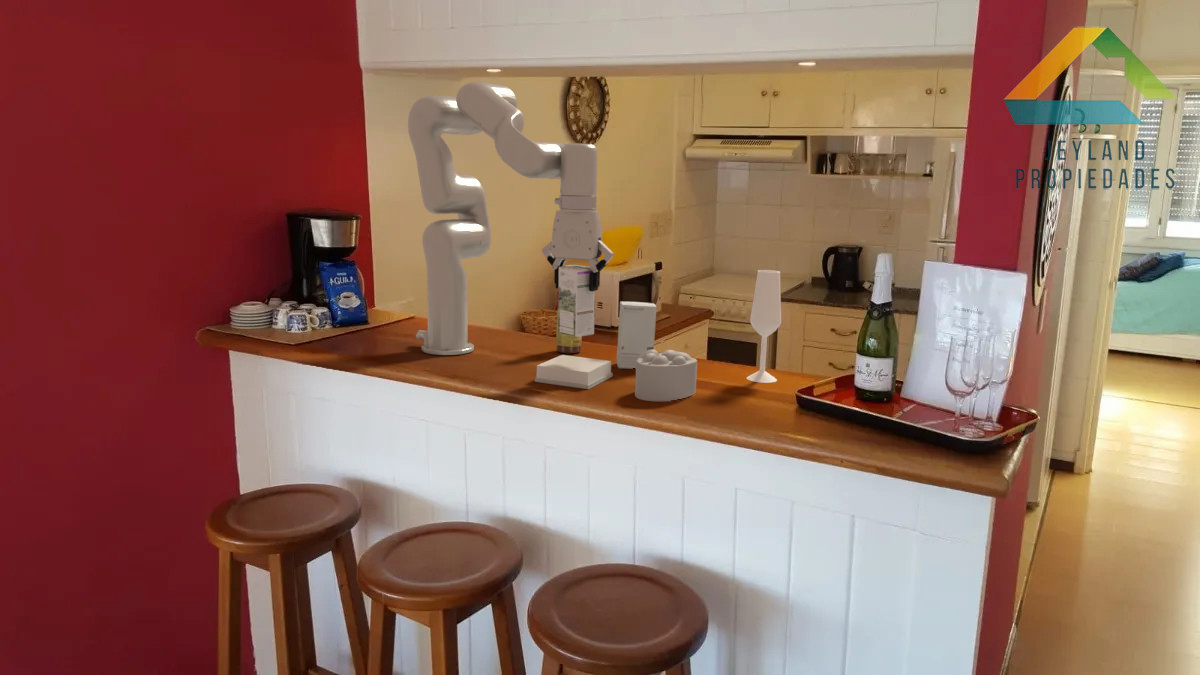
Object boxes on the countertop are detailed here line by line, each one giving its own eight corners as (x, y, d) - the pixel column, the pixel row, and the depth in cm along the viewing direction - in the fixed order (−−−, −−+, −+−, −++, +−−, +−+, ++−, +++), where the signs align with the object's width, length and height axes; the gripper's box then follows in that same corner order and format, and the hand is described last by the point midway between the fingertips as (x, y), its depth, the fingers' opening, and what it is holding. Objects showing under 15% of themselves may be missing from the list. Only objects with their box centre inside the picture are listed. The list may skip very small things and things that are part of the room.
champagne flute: (781, 382, 189) (789, 273, 184) (752, 383, 188) (759, 273, 183) (770, 375, 196) (778, 269, 191) (742, 375, 194) (748, 269, 190)
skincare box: (617, 369, 197) (619, 304, 194) (616, 362, 203) (618, 300, 200) (654, 369, 198) (657, 305, 195) (651, 363, 204) (654, 301, 201)
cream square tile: (534, 381, 184) (534, 365, 183) (561, 369, 195) (561, 354, 194) (588, 389, 179) (588, 372, 178) (612, 376, 190) (612, 360, 190)
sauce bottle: (578, 355, 210) (580, 274, 206) (553, 353, 211) (554, 272, 207) (584, 349, 216) (586, 270, 212) (559, 348, 217) (561, 269, 214)
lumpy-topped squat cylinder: (702, 394, 178) (704, 353, 176) (660, 405, 169) (662, 362, 167) (664, 384, 185) (666, 344, 183) (622, 394, 176) (623, 352, 174)
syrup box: (595, 334, 185) (596, 266, 182) (574, 337, 181) (576, 268, 178) (576, 330, 189) (578, 264, 186) (556, 333, 185) (557, 265, 182)
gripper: (532, 203, 180) (532, 288, 183) (609, 206, 173) (607, 294, 176) (549, 202, 186) (548, 284, 190) (623, 205, 180) (621, 290, 183)
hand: (576, 288), depth 183 cm, fingers closed on syrup box, 7 cm apart
